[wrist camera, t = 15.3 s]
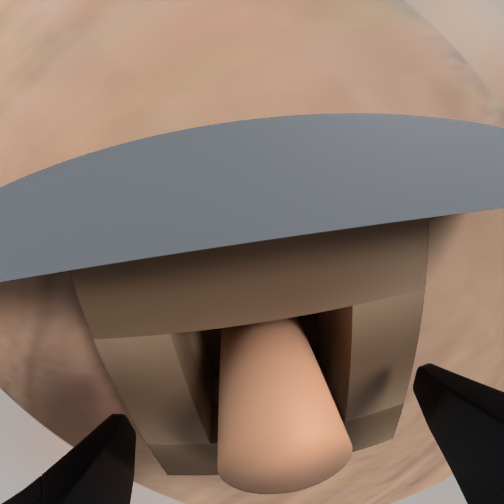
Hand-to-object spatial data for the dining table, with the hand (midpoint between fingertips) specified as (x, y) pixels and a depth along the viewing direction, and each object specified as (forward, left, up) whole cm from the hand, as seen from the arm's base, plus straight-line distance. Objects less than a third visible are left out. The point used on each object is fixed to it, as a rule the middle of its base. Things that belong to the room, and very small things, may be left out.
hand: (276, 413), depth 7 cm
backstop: (+6, 0, -5) cm, 8 cm away
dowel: (0, 0, -5) cm, 5 cm away
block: (0, 0, -5) cm, 5 cm away
